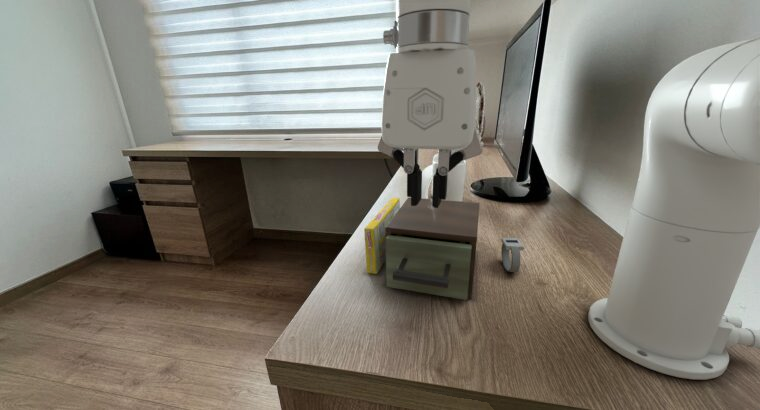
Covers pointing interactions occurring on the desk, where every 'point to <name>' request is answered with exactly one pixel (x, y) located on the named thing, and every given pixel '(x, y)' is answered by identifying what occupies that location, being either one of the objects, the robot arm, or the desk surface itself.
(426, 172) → the headphone stand
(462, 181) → the white tall cylinder
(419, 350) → the desk surface
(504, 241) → the wristwatch
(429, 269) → the drawer
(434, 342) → the desk surface
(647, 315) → the robot arm
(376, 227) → the candy box
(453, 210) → the cabinet
